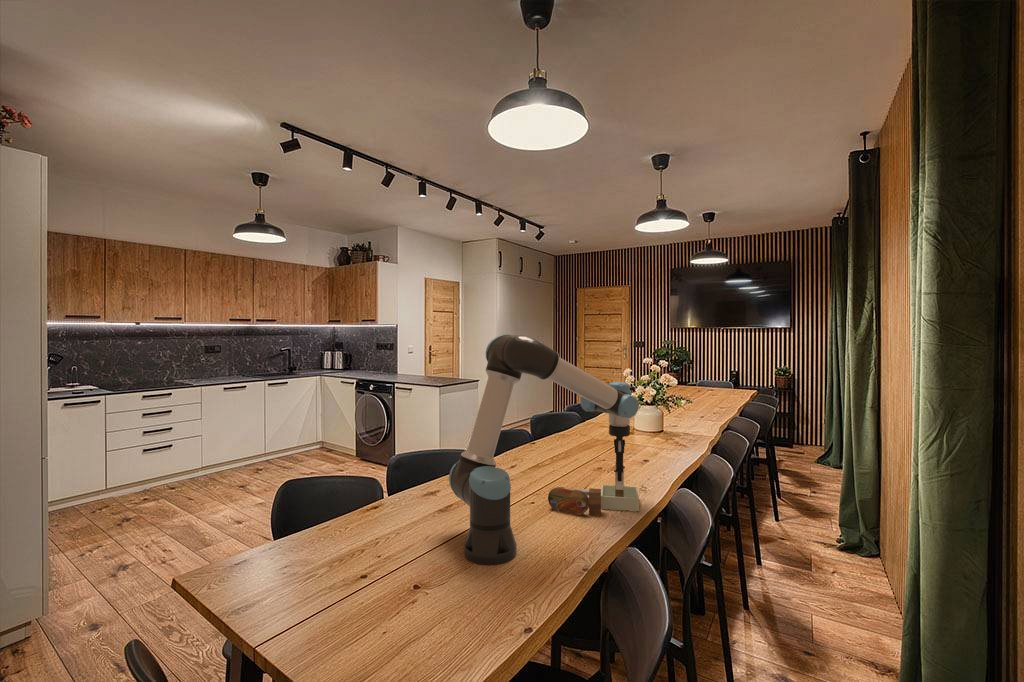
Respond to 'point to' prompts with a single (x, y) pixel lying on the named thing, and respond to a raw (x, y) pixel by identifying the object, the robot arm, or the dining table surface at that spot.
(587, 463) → the dining table surface
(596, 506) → the wooden block
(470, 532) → the robot arm
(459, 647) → the dining table surface
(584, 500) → the tin
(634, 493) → the tray
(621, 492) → the dowel
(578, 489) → the socket block
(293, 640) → the dining table surface
